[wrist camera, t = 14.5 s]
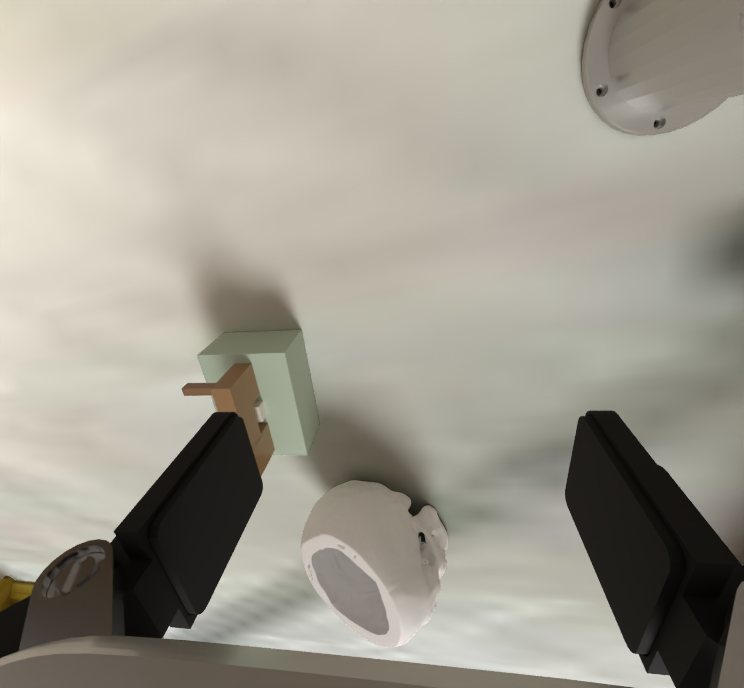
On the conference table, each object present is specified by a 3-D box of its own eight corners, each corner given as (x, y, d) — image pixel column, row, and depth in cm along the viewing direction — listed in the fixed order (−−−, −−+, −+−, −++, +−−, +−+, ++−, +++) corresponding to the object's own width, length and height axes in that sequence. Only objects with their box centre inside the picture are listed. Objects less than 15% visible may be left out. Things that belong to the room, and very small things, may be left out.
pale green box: (223, 332, 45) (190, 360, 38) (301, 329, 43) (280, 358, 37) (250, 423, 51) (226, 461, 44) (319, 423, 49) (304, 462, 43)
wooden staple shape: (207, 364, 40) (180, 389, 35) (251, 363, 39) (229, 388, 35) (235, 448, 45) (215, 480, 40) (274, 449, 44) (258, 481, 40)
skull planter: (424, 580, 58) (366, 693, 42) (346, 479, 64) (267, 543, 47) (486, 541, 53) (448, 654, 36) (396, 433, 58) (326, 488, 41)
